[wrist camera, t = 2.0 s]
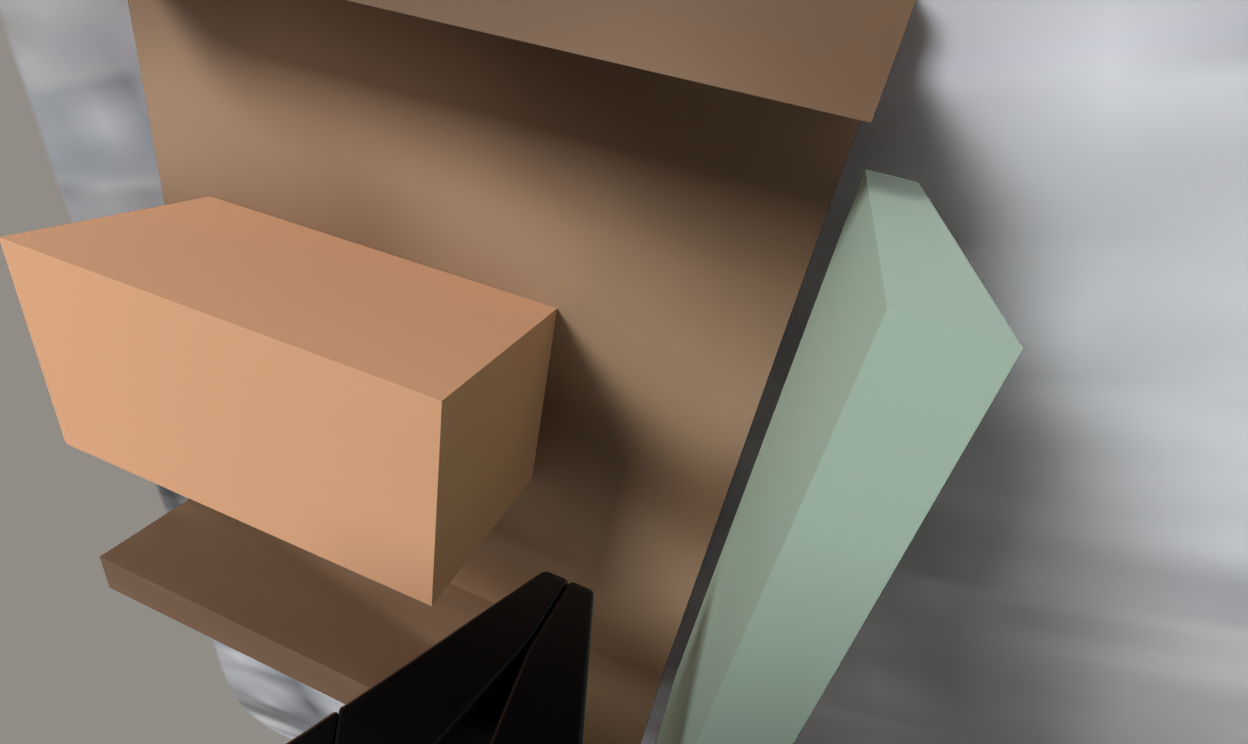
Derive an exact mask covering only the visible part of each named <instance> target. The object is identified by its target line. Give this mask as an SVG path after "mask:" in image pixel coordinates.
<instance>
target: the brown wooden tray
mask: <svg viewBox="0 0 1248 744" xmlns="http://www.w3.org/2000/svg"><path fill="white" fill-rule="evenodd" d="M915 2H916V0H128V4H129V10H130V15H131V21H132V26H133V32H134V37H135V43H136V48H137V54H138V59H139V65H140V70H141V76H142V81H143V87H144V92H145V98H146V103H147V109H148V114H149V120H150V125H151V131H152V136H153V142H154V147H155V153H156V158H157V163H158V169H159V174H160V180H161V185H162V191H163V196H164V202H165V205H168V204H174V203H179V202H184V201H189V200H194V199H200V198H205V197H210V196H211V197H214V198H217V199H220V200H223V201H226V202H229V203H232V204H236V205H239V206H242V207H245V208H248V209H251V210H254V211H257V212H260V213H263V214H267V215H270V216H273V217H276V218H279V219H282V220H285V221H288V222H291V223H294V224H298V225H301V226H304V227H307V228H310V229H313V230H316V231H319V232H322V233H325V234H329V235H332V236H335V237H338V238H341V239H344V240H347V241H350V242H353V243H356V244H359V245H363V246H366V247H369V248H372V249H375V250H378V251H381V252H384V253H387V254H390V255H394V256H397V257H400V258H403V259H406V260H409V261H412V262H415V263H418V264H421V265H425V266H428V267H431V268H434V269H437V270H440V271H443V272H446V273H449V274H452V275H456V276H459V277H462V278H465V279H468V280H471V281H474V282H477V283H480V284H483V285H487V286H490V287H493V288H496V289H499V290H502V291H505V292H508V293H511V294H514V295H518V296H521V297H524V298H527V299H530V300H533V301H536V302H539V303H542V304H545V305H549V306H552V307H555V308H557V313H556V320H555V327H554V333H553V340H552V347H551V354H550V360H549V367H548V374H547V381H546V387H545V394H544V401H543V408H542V414H541V421H540V428H539V435H538V441H537V448H536V455H535V462H534V468H533V475H532V479H531V480H530V482H529V483H528V484H527V485H526V487H525V488H524V489H523V490H522V492H521V493H520V494H519V496H518V497H517V498H516V499H515V501H514V502H513V503H512V504H511V506H510V507H509V508H508V510H507V511H506V512H505V513H504V515H503V516H502V517H501V518H500V520H499V521H498V522H497V524H496V525H495V526H494V527H493V529H492V530H491V531H490V533H489V534H488V535H487V536H486V538H485V539H484V540H483V541H482V543H481V544H480V545H479V547H478V548H477V549H476V550H475V552H474V553H473V554H472V555H471V557H470V558H469V559H468V561H467V562H466V563H465V564H464V566H463V567H462V568H461V569H460V571H459V572H458V573H457V575H456V576H455V577H454V578H453V580H452V581H451V582H450V583H449V585H448V586H447V587H446V589H445V590H444V591H443V592H442V594H441V595H440V596H439V598H438V599H437V600H436V601H435V603H434V604H433V605H432V606H430V605H428V604H425V603H423V602H421V601H419V600H416V599H414V598H412V597H410V596H407V595H405V594H403V593H401V592H398V591H396V590H394V589H392V588H389V587H387V586H385V585H383V584H380V583H378V582H376V581H374V580H372V579H369V578H367V577H365V576H363V575H360V574H358V573H356V572H354V571H351V570H349V569H347V568H345V567H342V566H340V565H338V564H336V563H333V562H331V561H329V560H327V559H324V558H322V557H320V556H318V555H315V554H313V553H311V552H309V551H306V550H304V549H302V548H300V547H297V546H295V545H293V544H291V543H288V542H286V541H284V540H282V539H279V538H277V537H275V536H273V535H270V534H268V533H266V532H264V531H261V530H259V529H257V528H255V527H252V526H250V525H248V524H246V523H243V522H241V521H239V520H237V519H234V518H232V517H230V516H228V515H225V514H223V513H221V512H219V511H216V510H214V509H212V508H210V507H207V506H205V505H203V504H201V503H198V502H196V501H194V500H192V499H189V500H187V501H186V502H184V503H182V504H181V505H179V506H178V507H176V508H175V509H173V510H172V511H170V512H169V513H167V514H165V515H164V516H163V517H161V518H159V519H158V520H156V521H155V522H153V523H151V524H150V525H149V526H147V527H145V528H144V529H142V530H141V531H139V532H138V533H136V534H135V535H133V536H131V537H130V538H128V539H127V540H125V541H124V542H122V543H120V544H119V545H117V546H116V547H114V548H113V549H111V550H110V551H108V552H106V553H105V554H103V555H102V556H100V559H101V562H102V565H103V568H104V571H105V574H106V577H107V580H108V583H109V586H110V588H112V589H114V590H116V591H118V592H120V593H122V594H124V595H126V596H128V597H131V598H132V599H134V600H136V601H138V602H140V603H142V604H144V605H147V606H149V607H150V608H152V609H155V610H157V611H158V612H161V613H163V614H165V615H167V616H169V617H171V618H173V619H175V620H177V621H179V622H181V623H183V624H185V625H187V626H189V627H191V628H193V629H195V630H197V631H199V632H201V633H203V634H205V635H207V636H209V637H211V638H213V639H215V640H217V641H219V642H221V643H223V644H225V645H227V646H229V647H231V648H233V649H235V650H237V651H239V652H241V653H243V654H245V655H247V656H249V657H251V658H253V659H255V660H257V661H259V662H261V663H263V664H265V665H267V666H270V667H272V668H274V669H276V670H278V671H280V672H282V673H284V674H286V675H288V676H290V677H292V678H294V679H296V680H298V681H300V682H302V683H304V684H306V685H308V686H310V687H312V688H314V689H316V690H318V691H320V692H322V693H324V694H326V695H328V696H330V697H332V698H334V699H336V700H338V701H340V702H342V703H344V704H347V703H349V702H350V701H352V700H353V699H355V698H356V697H358V696H359V695H360V694H362V693H363V692H365V691H366V690H368V689H369V688H371V687H372V686H374V685H375V684H377V683H378V682H380V681H381V680H383V679H384V678H386V677H387V676H389V675H390V674H392V673H393V672H395V671H396V670H398V669H399V668H400V667H402V666H403V665H405V664H406V663H408V662H409V661H411V660H412V659H414V658H415V657H417V656H418V655H420V654H421V653H423V652H424V651H426V650H427V649H429V648H430V647H432V646H433V645H435V644H436V643H438V642H439V641H440V640H442V639H443V638H445V637H446V636H448V635H449V634H451V633H452V632H454V631H455V630H457V629H458V628H460V627H461V626H463V625H464V624H466V623H467V622H469V621H470V620H472V619H473V618H475V617H476V616H478V615H479V614H481V613H482V612H483V611H485V610H486V609H488V608H489V607H491V606H492V605H494V604H495V603H497V602H498V601H500V600H501V599H503V598H504V597H506V596H507V595H509V594H510V593H512V592H513V591H515V590H516V589H518V588H519V587H521V586H522V585H523V584H525V583H526V582H528V581H529V580H531V579H532V578H534V577H535V576H537V575H538V574H540V573H542V572H546V571H547V572H550V573H553V574H555V575H557V576H560V577H562V578H565V579H566V580H567V581H568V584H569V583H571V582H574V583H577V584H579V585H582V586H584V587H586V588H589V589H591V590H592V591H593V592H594V604H593V617H592V630H591V643H590V656H589V670H588V683H587V696H586V709H585V722H584V735H583V744H641V741H642V738H643V734H644V731H645V728H646V725H647V722H648V718H649V715H650V712H651V709H652V706H653V702H654V699H655V696H656V693H657V690H658V686H659V683H660V680H661V677H662V674H663V671H664V668H665V665H666V663H667V660H668V657H669V654H670V651H671V649H672V646H673V643H674V640H675V637H676V635H677V632H678V629H679V626H680V623H681V620H682V618H683V615H684V612H685V609H686V606H687V604H688V601H689V598H690V595H691V592H692V590H693V587H694V584H695V581H696V578H697V576H698V573H699V570H700V567H701V564H702V562H703V559H704V556H705V553H706V550H707V548H708V545H709V542H710V539H711V536H712V534H713V531H714V528H715V525H716V522H717V519H718V517H719V514H720V511H721V508H722V505H723V503H724V500H725V497H726V494H727V491H728V489H729V486H730V483H731V480H732V477H733V475H734V472H735V469H736V466H737V463H738V461H739V458H740V455H741V452H742V449H743V447H744V444H745V441H746V438H747V435H748V433H749V430H750V427H751V424H752V421H753V418H754V416H755V413H756V410H757V407H758V404H759V402H760V399H761V396H762V393H763V390H764V388H765V385H766V382H767V379H768V376H769V374H770V371H771V368H772V365H773V362H774V360H775V357H776V354H777V351H778V348H779V346H780V343H781V340H782V337H783V334H784V332H785V329H786V326H787V323H788V320H789V318H790V315H791V312H792V309H793V306H794V303H795V301H796V298H797V295H798V292H799V289H800V287H801V284H802V281H803V278H804V275H805V273H806V270H807V267H808V264H809V261H810V259H811V256H812V253H813V250H814V247H815V245H816V242H817V239H818V236H819V233H820V231H821V228H822V225H823V222H824V219H825V217H826V214H827V211H828V208H829V205H830V202H831V200H832V197H833V194H834V191H835V188H836V186H837V183H838V180H839V177H840V174H841V172H842V169H843V166H844V163H845V160H846V158H847V155H848V152H849V149H850V146H851V144H852V141H853V138H854V135H855V132H856V130H857V127H858V124H859V121H860V120H861V121H866V122H870V123H871V122H872V119H873V117H874V114H875V111H876V109H877V106H878V103H879V100H880V98H881V95H882V92H883V89H884V87H885V84H886V81H887V78H888V76H889V73H890V70H891V68H892V65H893V62H894V59H895V57H896V54H897V51H898V48H899V46H900V43H901V40H902V37H903V35H904V32H905V29H906V27H907V24H908V21H909V18H910V16H911V13H912V10H913V7H914V5H915Z"/></svg>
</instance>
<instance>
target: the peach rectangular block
mask: <svg viewBox="0 0 1248 744" xmlns="http://www.w3.org/2000/svg"><path fill="white" fill-rule="evenodd" d="M0 243H1V246H2V249H3V252H4V255H5V258H6V261H7V264H8V267H9V270H10V273H11V276H12V280H13V283H14V286H15V289H16V292H17V295H18V298H19V301H20V304H21V307H22V310H23V313H24V316H25V319H26V322H27V326H28V329H29V332H30V335H31V338H32V341H33V344H34V347H35V350H36V353H37V356H38V359H39V362H40V365H41V368H42V372H43V374H44V378H45V381H46V384H47V387H48V390H49V393H50V396H51V399H52V402H53V405H54V408H55V411H56V414H57V418H58V421H59V424H60V427H61V430H62V433H63V436H64V439H65V442H66V444H68V445H70V446H72V447H75V448H77V449H79V450H81V451H84V452H86V453H88V454H91V455H93V456H95V457H97V458H99V459H102V460H104V461H106V462H108V463H111V464H113V465H115V466H117V467H120V468H122V469H124V470H127V471H129V472H131V473H133V474H135V475H138V476H140V477H142V478H144V479H147V480H149V481H151V482H153V483H156V484H158V485H160V486H162V487H165V488H167V489H169V490H171V491H174V492H176V493H178V494H180V495H183V496H185V497H187V498H189V499H192V500H194V501H196V502H198V503H201V504H203V505H205V506H207V507H210V508H212V509H214V510H216V511H219V512H221V513H223V514H225V515H228V516H230V517H232V518H234V519H237V520H239V521H241V522H243V523H246V524H248V525H250V526H252V527H255V528H257V529H259V530H261V531H264V532H266V533H268V534H270V535H273V536H275V537H277V538H279V539H282V540H284V541H286V542H288V543H291V544H293V545H295V546H297V547H300V548H302V549H304V550H306V551H309V552H311V553H313V554H315V555H318V556H320V557H322V558H324V559H327V560H329V561H331V562H333V563H336V564H338V565H340V566H342V567H345V568H347V569H349V570H351V571H354V572H356V573H358V574H360V575H363V576H365V577H367V578H369V579H372V580H374V581H376V582H378V583H380V584H383V585H385V586H387V587H389V588H392V589H394V590H396V591H398V592H401V593H403V594H405V595H407V596H410V597H412V598H414V599H416V600H419V601H421V602H423V603H425V604H428V605H430V606H432V605H433V604H434V603H435V601H436V600H437V599H438V598H439V596H440V595H441V594H442V592H443V591H444V590H445V589H446V587H447V586H448V585H449V583H450V582H451V581H452V580H453V578H454V577H455V576H456V575H457V573H458V572H459V571H460V569H461V568H462V567H463V566H464V564H465V563H466V562H467V561H468V559H469V558H470V557H471V555H472V554H473V553H474V552H475V550H476V549H477V548H478V547H479V545H480V544H481V543H482V541H483V540H484V539H485V538H486V536H487V535H488V534H489V533H490V531H491V530H492V529H493V527H494V526H495V525H496V524H497V522H498V521H499V520H500V518H501V517H502V516H503V515H504V513H505V512H506V511H507V510H508V508H509V507H510V506H511V504H512V503H513V502H514V501H515V499H516V498H517V497H518V496H519V494H520V493H521V492H522V490H523V489H524V488H525V487H526V485H527V484H528V483H529V482H530V480H531V479H532V475H533V468H534V462H535V455H536V448H537V441H538V435H539V428H540V421H541V414H542V408H543V401H544V394H545V387H546V381H547V374H548V367H549V360H550V354H551V347H552V340H553V333H554V327H555V320H556V313H557V308H555V307H552V306H549V305H545V304H542V303H539V302H536V301H533V300H530V299H527V298H524V297H521V296H518V295H514V294H511V293H508V292H505V291H502V290H499V289H496V288H493V287H490V286H487V285H483V284H480V283H477V282H474V281H471V280H468V279H465V278H462V277H459V276H456V275H452V274H449V273H446V272H443V271H440V270H437V269H434V268H431V267H428V266H425V265H421V264H418V263H415V262H412V261H409V260H406V259H403V258H400V257H397V256H394V255H390V254H387V253H384V252H381V251H378V250H375V249H372V248H369V247H366V246H363V245H359V244H356V243H353V242H350V241H347V240H344V239H341V238H338V237H335V236H332V235H329V234H325V233H322V232H319V231H316V230H313V229H310V228H307V227H304V226H301V225H298V224H294V223H291V222H288V221H285V220H282V219H279V218H276V217H273V216H270V215H267V214H263V213H260V212H257V211H254V210H251V209H248V208H245V207H242V206H239V205H236V204H232V203H229V202H226V201H223V200H220V199H217V198H214V197H211V196H210V197H205V198H200V199H194V200H189V201H184V202H179V203H174V204H168V205H163V206H158V207H153V208H148V209H142V210H137V211H132V212H127V213H122V214H117V215H111V216H106V217H101V218H96V219H91V220H85V221H80V222H75V223H70V224H65V225H60V226H54V227H49V228H45V229H39V230H33V231H29V232H23V233H18V234H13V235H8V236H2V237H0Z"/></svg>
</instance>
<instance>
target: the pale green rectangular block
mask: <svg viewBox="0 0 1248 744" xmlns="http://www.w3.org/2000/svg"><path fill="white" fill-rule="evenodd" d="M1022 350H1023V347H1022V345H1021V344H1020V342H1019V341H1018V339H1017V338H1016V336H1015V334H1014V333H1013V331H1012V330H1011V328H1010V326H1009V325H1008V323H1007V322H1006V320H1005V319H1004V317H1003V315H1002V314H1001V312H1000V311H999V309H998V307H997V306H996V304H995V303H994V301H993V299H992V298H991V296H990V295H989V293H988V292H987V290H986V288H985V287H984V285H983V284H982V282H981V280H980V279H979V277H978V276H977V274H976V273H975V271H974V269H973V268H972V266H971V265H970V263H969V261H968V260H967V258H966V257H965V255H964V253H963V252H962V250H961V249H960V247H959V246H958V244H957V242H956V241H955V239H954V238H953V236H952V234H951V233H950V231H949V230H948V228H947V226H946V225H945V223H944V222H943V220H942V219H941V217H940V215H939V214H938V212H937V211H936V209H935V207H934V206H933V204H932V203H931V201H930V200H929V198H928V196H927V195H926V193H925V192H924V190H923V188H922V187H921V185H920V184H919V182H916V181H912V180H908V179H904V178H900V177H896V176H892V175H888V174H884V173H880V172H876V171H872V170H868V169H865V170H864V173H863V176H862V178H861V181H860V184H859V186H858V189H857V192H856V194H855V197H854V200H853V202H852V205H851V208H850V210H849V213H848V216H847V218H846V221H845V224H844V226H843V229H842V232H841V234H840V237H839V240H838V242H837V245H836V248H835V250H834V253H833V256H832V258H831V261H830V264H829V267H828V269H827V272H826V275H825V277H824V280H823V283H822V285H821V288H820V291H819V293H818V296H817V299H816V301H815V304H814V307H813V309H812V312H811V315H810V317H809V320H808V323H807V325H806V328H805V331H804V333H803V336H802V339H801V341H800V344H799V347H798V349H797V352H796V355H795V357H794V360H793V363H792V365H791V368H790V371H789V373H788V376H787V379H786V381H785V384H784V387H783V389H782V392H781V395H780V397H779V400H778V403H777V405H776V408H775V411H774V413H773V416H772V419H771V421H770V424H769V427H768V430H767V432H766V435H765V438H764V440H763V443H762V446H761V448H760V451H759V454H758V456H757V459H756V462H755V464H754V467H753V470H752V472H751V475H750V478H749V480H748V483H747V486H746V488H745V491H744V494H743V496H742V499H741V502H740V504H739V507H738V510H737V512H736V515H735V518H734V520H733V523H732V526H731V528H730V531H729V534H728V536H727V539H726V542H725V544H724V547H723V550H722V552H721V555H720V558H719V560H718V563H717V566H716V568H715V571H714V574H713V576H712V579H711V582H710V584H709V587H708V590H707V593H706V595H705V598H704V601H703V603H702V606H701V609H700V611H699V614H698V617H697V619H696V622H695V625H694V627H693V630H692V633H691V635H690V638H689V641H688V643H687V646H686V649H685V651H684V654H683V657H682V659H681V662H680V665H679V667H678V670H677V673H676V675H675V678H674V682H673V685H672V688H671V692H670V695H669V699H668V702H667V706H666V709H665V713H664V716H663V719H662V723H661V726H660V730H659V733H658V737H657V740H656V744H794V742H795V740H796V739H797V737H798V735H799V733H800V732H801V730H802V728H803V726H804V725H805V723H806V721H807V720H808V718H809V716H810V714H811V713H812V711H813V709H814V708H815V706H816V704H817V702H818V701H819V699H820V697H821V695H822V694H823V692H824V690H825V689H826V687H827V685H828V683H829V682H830V680H831V678H832V677H833V675H834V673H835V671H836V670H837V668H838V666H839V665H840V663H841V661H842V659H843V658H844V656H845V654H846V652H847V651H848V649H849V647H850V646H851V644H852V642H853V640H854V639H855V637H856V635H857V634H858V632H859V630H860V628H861V627H862V625H863V623H864V621H865V620H866V618H867V616H868V615H869V613H870V611H871V609H872V608H873V606H874V604H875V603H876V601H877V599H878V597H879V596H880V594H881V592H882V590H883V589H884V587H885V585H886V584H887V582H888V580H889V578H890V577H891V575H892V573H893V572H894V570H895V568H896V566H897V565H898V563H899V561H900V560H901V558H902V556H903V554H904V553H905V551H906V549H907V547H908V546H909V544H910V542H911V541H912V539H913V537H914V535H915V534H916V532H917V530H918V529H919V527H920V525H921V523H922V522H923V520H924V518H925V516H926V515H927V513H928V511H929V510H930V508H931V506H932V504H933V503H934V501H935V499H936V498H937V496H938V494H939V492H940V491H941V489H942V487H943V485H944V484H945V482H946V480H947V479H948V477H949V475H950V473H951V472H952V470H953V468H954V467H955V465H956V463H957V461H958V460H959V458H960V456H961V455H962V453H963V451H964V449H965V448H966V446H967V444H968V442H969V441H970V439H971V437H972V436H973V434H974V432H975V430H976V429H977V427H978V425H979V424H980V422H981V420H982V418H983V417H984V415H985V413H986V411H987V410H988V408H989V406H990V405H991V403H992V401H993V399H994V398H995V396H996V394H997V393H998V391H999V389H1000V387H1001V386H1002V384H1003V382H1004V380H1005V379H1006V377H1007V375H1008V374H1009V372H1010V370H1011V368H1012V367H1013V365H1014V363H1015V362H1016V360H1017V358H1018V356H1019V355H1020V353H1021V351H1022Z"/></svg>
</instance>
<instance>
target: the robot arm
mask: <svg viewBox="0 0 1248 744" xmlns="http://www.w3.org/2000/svg"><path fill="white" fill-rule="evenodd" d="M593 604H594V592H593V591H592V590H591V589H589V588H586V587H584V586H582V585H579V584H577V583H574V582H571V583H569V584H568V581H567V580H566V579H565V578H562V577H560V576H557V575H555V574H553V573H550V572H547V571H546V572H542V573H540V574H538V575H537V576H535V577H534V578H532V579H531V580H529V581H528V582H526V583H525V584H523V585H522V586H521V587H519V588H518V589H516V590H515V591H513V592H512V593H510V594H509V595H507V596H506V597H504V598H503V599H501V600H500V601H498V602H497V603H495V604H494V605H492V606H491V607H489V608H488V609H486V610H485V611H483V612H482V613H481V614H479V615H478V616H476V617H475V618H473V619H472V620H470V621H469V622H467V623H466V624H464V625H463V626H461V627H460V628H458V629H457V630H455V631H454V632H452V633H451V634H449V635H448V636H446V637H445V638H443V639H442V640H440V641H439V642H438V643H436V644H435V645H433V646H432V647H430V648H429V649H427V650H426V651H424V652H423V653H421V654H420V655H418V656H417V657H415V658H414V659H412V660H411V661H409V662H408V663H406V664H405V665H403V666H402V667H400V668H399V669H398V670H396V671H395V672H393V673H392V674H390V675H389V676H387V677H386V678H384V679H383V680H381V681H380V682H378V683H377V684H375V685H374V686H372V687H371V688H369V689H368V690H366V691H365V692H363V693H362V694H360V695H359V696H358V697H356V698H355V699H353V700H352V701H350V702H349V703H347V704H346V705H344V706H343V707H341V708H340V710H339V714H338V713H337V712H333V713H332V714H330V715H329V716H327V717H326V718H324V719H323V720H322V721H320V722H319V723H317V724H316V725H314V726H313V727H311V728H310V729H308V730H307V731H305V732H304V733H302V734H301V735H299V736H297V737H296V738H294V739H293V740H291V741H290V742H288V743H287V744H583V735H584V722H585V709H586V696H587V683H588V670H589V656H590V643H591V630H592V617H593Z"/></svg>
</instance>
